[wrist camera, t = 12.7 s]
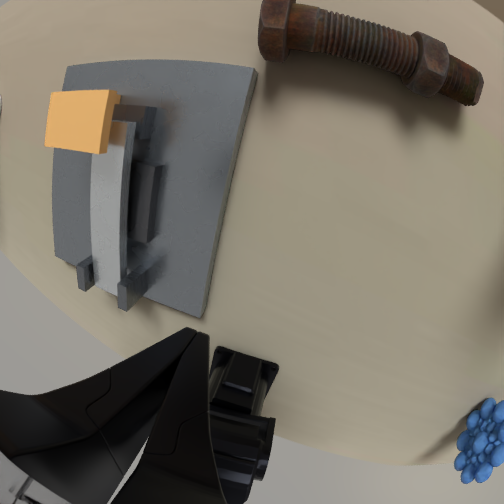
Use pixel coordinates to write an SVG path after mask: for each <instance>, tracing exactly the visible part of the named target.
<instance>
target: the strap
mask: <svg viewBox="0 0 504 504" xmlns="http://www.w3.org/2000/svg"><path fill="white" fill-rule="evenodd" d="M135 128H136V122H129V121H119V120H112V121H111V127H110V134H109V141H108V148H107V153H104V154H94V153H92V164H91V190H90V217H91V243H92V258H93V269H94V279H95V286H96V287H98V288H101V289H103V290H105V291H107V292H109V293H111V294H113V295H116V296H118V295H117V283H118V282H120V281H121V280H122V279H123V278H124V277H126V276H127V213H128V195H129V181H130V170H131V160H132V151H133V143H134V135H135Z"/></svg>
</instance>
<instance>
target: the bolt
mask: <svg viewBox="0 0 504 504" xmlns="http://www.w3.org/2000/svg"><path fill="white" fill-rule="evenodd" d="M258 46H259V50H260V53H261V55H262V57H263V58H264V59H265V60H268V61H275V62H282V63H283V62H284V61H285V59H286V58H287V56H288V54H289V49H296V50H302V51H308V52H321V53H324V52H325V51H326V54H329V53H330V52H331V54H332V55H334V54H335V53H336V55H337V57H338V56H340V55H341V56H342V58H344V57H347V59H350V58H351V59H352V60H353V61H354V60H357V62H360V61H362V63H365V62H366V63H367V65H369V64H371V65H372V66H375V65H376V67H377V68H380V67H381V69H382V70H384V69H386V71H389V70H390V71H391V73H394V72H395V74H396V75H398V74H399V75H400V76H401V79H402V82H403V84H404V85H405V86H406V87H407V88H408V89H410V90H411V91H412V92H414V93H417V94H419V95H422V96H424V97H426V98H428V97H430V96H433V95H434V94H436V93H437V92H440V93H442V94H443V95H446V96H448V97H450V98H452V99H454V100H456V101H458V102H460V103H461V104H463V105H465V106H467V105H468V106H470V105H472V106H474V105H476V104H477V103H478V101H479V98H480V95H481V92H482V88H483V84H484V81H483V77H482V75H481V73H480V72H478V71H477V70H476V69H475V68H474V67H472V66H470V65H469V64H466V63H465V62H463V61H461V60H460V59H458V58H456V57H454V56H452V55H450V54H449V53H448V49H447V47H446V45H445V43H443V42H441V41H439V40H437V39H434V38H432V37H430V36H428V35H426V34H424V33H421V32H418V31H417V32H414V33H413V34H412V35H411V36H410V35H406V34H405V33H401V32H400V31H396V30H394V29H392V30H391V29H390V28H389V27H388V28H386V27H385V26H381V25H380V24H377V25H376V24H375V23H374V22H373V23H371V22H370V21H367V22H366V21H365V20H362V21H361V20H360V19H359V18H358V19H355V18H354V17H351V18H350V16H349V15H346V17H345V16H344V14H341V15H339V13H337V12H336V13H335V14H334V13H333V11H331V12H330V13H329V12H328V11H327V10H324V9H320V8H319V7H314V6H309V5H303V4H296V0H263V1H262V5H261V10H260V18H259V28H258Z"/></svg>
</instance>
